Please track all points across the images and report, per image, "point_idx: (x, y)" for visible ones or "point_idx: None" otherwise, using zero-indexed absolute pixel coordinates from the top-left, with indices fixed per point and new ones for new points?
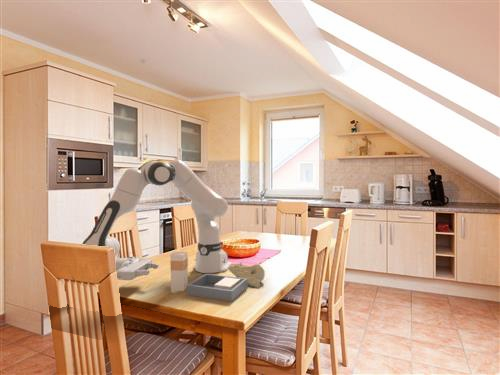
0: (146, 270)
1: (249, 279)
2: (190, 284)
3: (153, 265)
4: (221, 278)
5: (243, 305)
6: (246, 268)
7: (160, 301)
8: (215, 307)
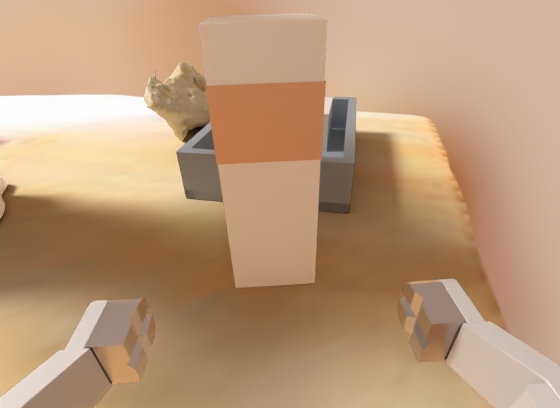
0: (440, 297)
1: None
2: (338, 158)
3: (130, 346)
4: None
5: None
6: (183, 82)
7: None
8: (389, 148)
